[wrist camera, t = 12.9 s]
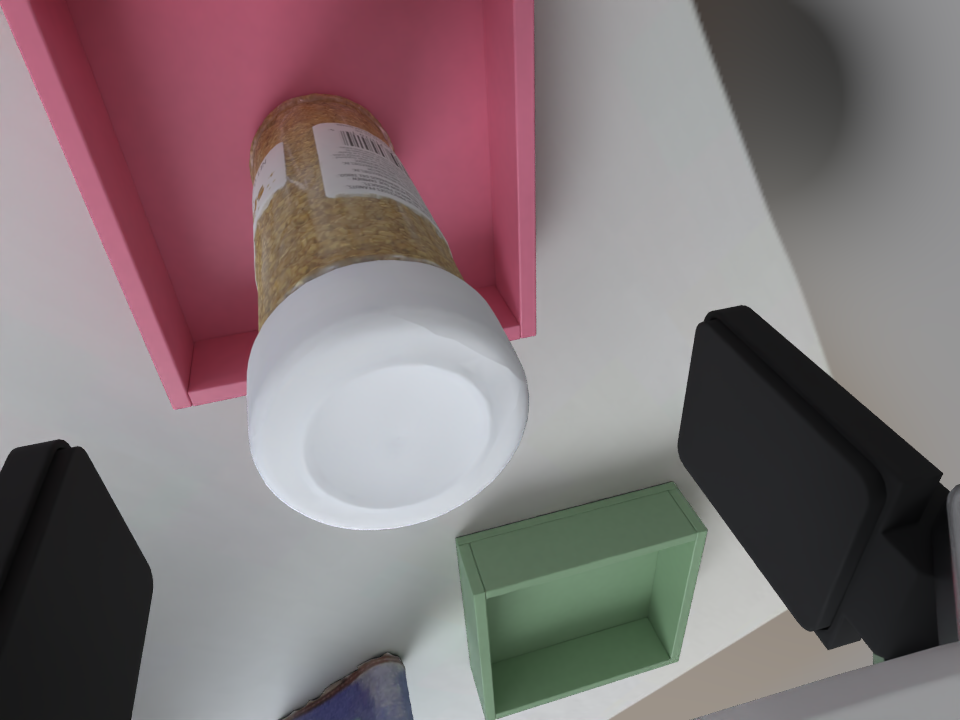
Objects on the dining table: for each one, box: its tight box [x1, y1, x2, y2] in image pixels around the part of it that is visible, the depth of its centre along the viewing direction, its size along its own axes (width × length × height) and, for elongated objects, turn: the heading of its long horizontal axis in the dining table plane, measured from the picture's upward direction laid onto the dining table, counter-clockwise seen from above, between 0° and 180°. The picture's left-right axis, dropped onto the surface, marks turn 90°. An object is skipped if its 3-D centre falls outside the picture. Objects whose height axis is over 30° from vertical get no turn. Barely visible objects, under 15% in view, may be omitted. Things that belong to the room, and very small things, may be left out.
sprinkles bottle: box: [247, 93, 529, 530], centre depth 16 cm, size 5×4×14 cm
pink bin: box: [0, 0, 536, 410], centre depth 20 cm, size 12×12×4 cm
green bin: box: [456, 482, 708, 720], centre depth 37 cm, size 12×12×4 cm
